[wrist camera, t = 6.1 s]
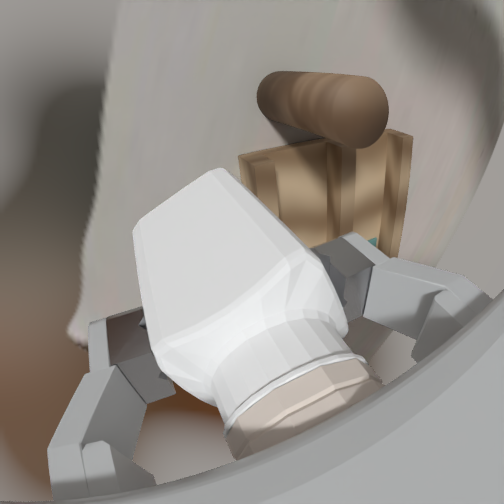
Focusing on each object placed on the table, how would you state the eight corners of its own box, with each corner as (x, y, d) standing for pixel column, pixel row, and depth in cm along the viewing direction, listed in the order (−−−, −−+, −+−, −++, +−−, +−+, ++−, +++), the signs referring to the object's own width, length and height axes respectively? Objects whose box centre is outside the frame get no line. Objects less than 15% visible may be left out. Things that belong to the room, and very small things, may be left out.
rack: (238, 155, 22) (254, 166, 20) (390, 128, 27) (413, 136, 24) (256, 296, 30) (270, 315, 28) (380, 246, 35) (397, 259, 32)
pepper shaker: (186, 290, 13) (286, 518, 5) (124, 222, 10) (190, 532, 3) (266, 235, 13) (428, 431, 6) (219, 156, 10) (452, 384, 3)
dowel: (253, 73, 20) (331, 76, 13) (301, 69, 21) (388, 77, 14) (259, 125, 22) (334, 154, 15) (305, 117, 23) (387, 144, 16)
